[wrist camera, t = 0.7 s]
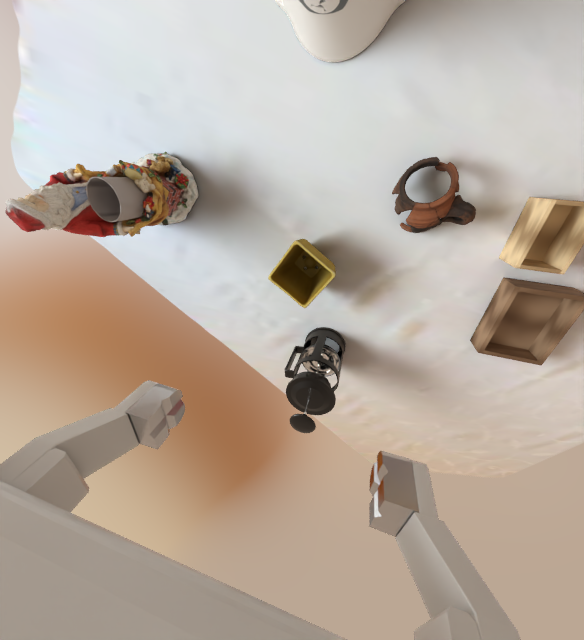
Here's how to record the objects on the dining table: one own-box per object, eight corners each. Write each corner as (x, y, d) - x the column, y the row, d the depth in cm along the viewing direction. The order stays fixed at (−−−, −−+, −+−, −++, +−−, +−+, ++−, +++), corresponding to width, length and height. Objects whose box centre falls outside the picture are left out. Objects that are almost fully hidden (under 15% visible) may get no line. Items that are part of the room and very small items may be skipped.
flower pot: (342, 260, 48) (337, 275, 40) (314, 291, 52) (304, 309, 45) (307, 230, 47) (295, 239, 39) (282, 264, 51) (266, 278, 44)
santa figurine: (200, 158, 46) (54, 140, 25) (203, 235, 53) (91, 270, 32) (125, 143, 49) (-63, 116, 28) (137, 218, 56) (-4, 241, 35)
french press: (349, 329, 54) (336, 410, 35) (347, 363, 59) (336, 452, 39) (297, 325, 58) (260, 397, 38) (299, 357, 62) (267, 437, 43)
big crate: (503, 277, 42) (515, 286, 38) (573, 287, 40) (592, 297, 36) (470, 340, 48) (478, 352, 45) (528, 351, 46) (541, 365, 43)
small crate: (529, 197, 36) (552, 199, 31) (578, 201, 35) (609, 204, 30) (498, 258, 41) (515, 267, 36) (541, 263, 39) (563, 274, 35)
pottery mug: (382, 228, 44) (381, 206, 36) (407, 176, 43) (412, 142, 35) (453, 251, 40) (470, 231, 32) (483, 194, 39) (508, 160, 31)
